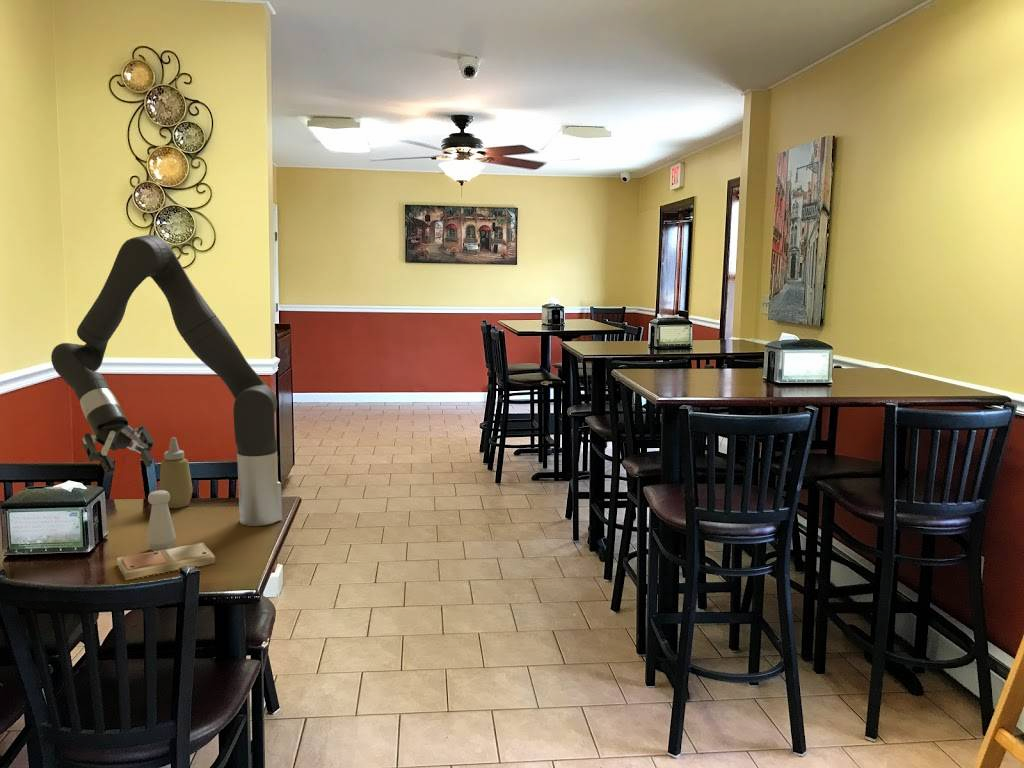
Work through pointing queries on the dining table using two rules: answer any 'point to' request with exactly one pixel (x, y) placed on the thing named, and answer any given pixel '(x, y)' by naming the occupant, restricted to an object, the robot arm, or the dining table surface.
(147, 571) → the tile board
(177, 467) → the squeeze bottle
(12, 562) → the dining table surface
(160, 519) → the salt shaker
